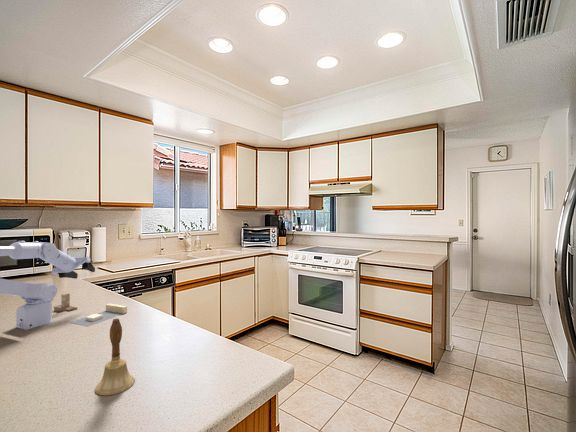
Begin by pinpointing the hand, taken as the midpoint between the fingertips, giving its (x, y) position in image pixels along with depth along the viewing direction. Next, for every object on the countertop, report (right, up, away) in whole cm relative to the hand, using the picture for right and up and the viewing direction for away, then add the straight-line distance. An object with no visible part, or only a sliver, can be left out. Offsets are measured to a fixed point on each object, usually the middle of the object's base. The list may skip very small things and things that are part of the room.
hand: (85, 273), depth 128 cm
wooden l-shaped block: (-6, -16, -4) cm, 17 cm away
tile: (+14, -14, -16) cm, 26 cm away
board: (+15, -15, -14) cm, 26 cm away
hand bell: (+47, -16, -57) cm, 76 cm away
